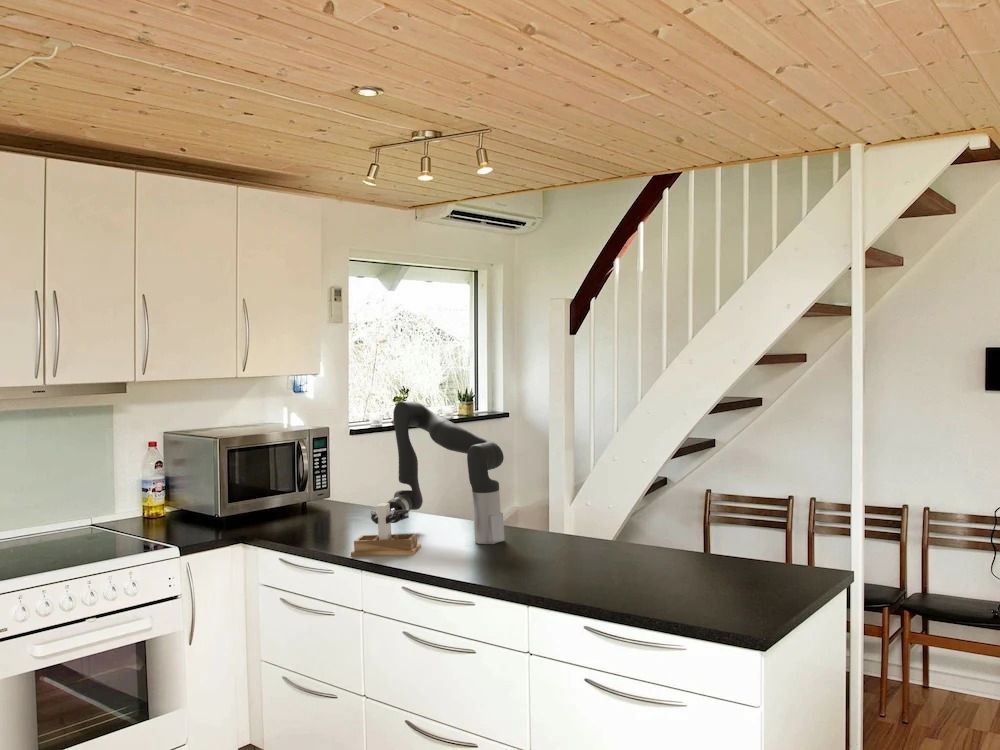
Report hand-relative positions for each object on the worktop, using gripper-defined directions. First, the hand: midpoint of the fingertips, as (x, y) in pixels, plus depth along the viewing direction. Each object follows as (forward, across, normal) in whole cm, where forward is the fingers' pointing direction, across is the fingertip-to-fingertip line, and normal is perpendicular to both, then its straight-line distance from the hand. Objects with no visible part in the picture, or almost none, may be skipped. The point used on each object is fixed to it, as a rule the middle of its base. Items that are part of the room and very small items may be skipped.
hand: (381, 520), depth 280 cm
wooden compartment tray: (-3, 0, +11) cm, 11 cm away
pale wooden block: (-3, 0, +7) cm, 8 cm away
